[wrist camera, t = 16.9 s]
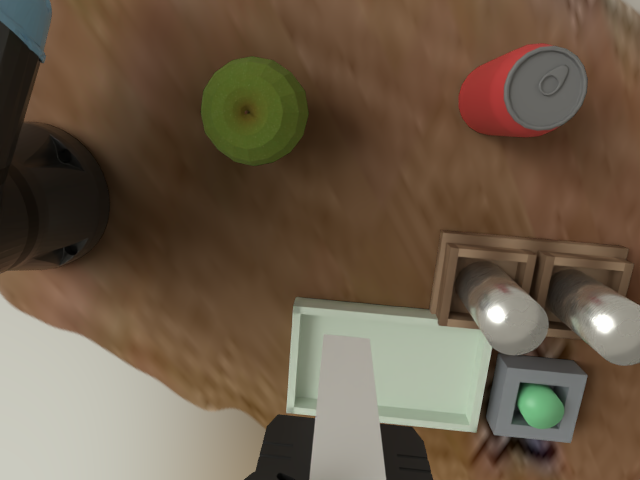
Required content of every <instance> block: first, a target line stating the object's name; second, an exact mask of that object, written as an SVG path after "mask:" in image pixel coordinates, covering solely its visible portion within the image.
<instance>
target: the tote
mask: <svg viewBox="0 0 640 480" xmlns="http://www.w3.org/2000/svg"><path fill="white" fill-rule="evenodd" d="M324 334H327V335H337V336H348V337H358V338H368V339H370V346H371V354H372V363H373V371H374V380H375V388H376V397H377V405H378V414H379V422H380V423H389V424H399V425H408V426H418V427H428V428H437V429H447V430H456V431H466V432H476V431H477V426H478V421H479V415H480V410H481V405H482V399H483V394H484V389H485V383H486V378H487V373H488V367H489V362H490V357H491V351H492V346H491V345H490V344H489V342H488V341H487V339H486V338H485V336H484V335H483V333H482V332H481V330H479V329H468V328H458V327H447V326H439V325H438V319H437V316H436V314H431V312H430V310H429V309H420V308H409V307H398V306H388V305H377V304H366V303H355V302H345V301H334V300H323V299H313V298H302V297H296V299H295V302H294V305H293V318H292V333H291V349H290V364H289V380H288V395H287V411H286V413H293V414H303V415H312V416H316V407H317V397H318V387H319V377H320V366H321V356H322V346H323V336H324Z"/></svg>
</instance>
